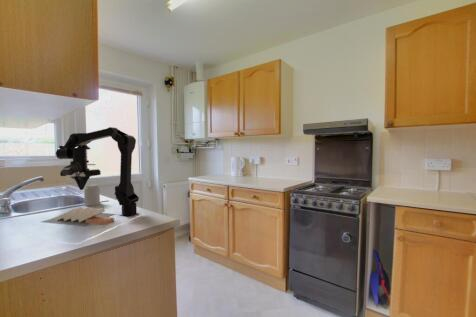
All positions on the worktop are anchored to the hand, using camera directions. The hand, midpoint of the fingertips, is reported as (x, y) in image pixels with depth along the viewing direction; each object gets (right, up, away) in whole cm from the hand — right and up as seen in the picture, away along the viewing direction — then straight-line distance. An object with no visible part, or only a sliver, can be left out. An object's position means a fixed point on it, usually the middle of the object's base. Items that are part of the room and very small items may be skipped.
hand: (81, 189), depth 115 cm
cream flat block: (+1, -12, -9) cm, 15 cm away
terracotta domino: (+12, -12, -12) cm, 21 cm away
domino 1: (-3, -12, -9) cm, 15 cm away
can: (-6, -12, +18) cm, 22 cm away
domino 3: (+5, -12, -10) cm, 16 cm away
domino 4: (+9, -12, -11) cm, 18 cm away
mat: (+4, -13, -7) cm, 15 cm away
